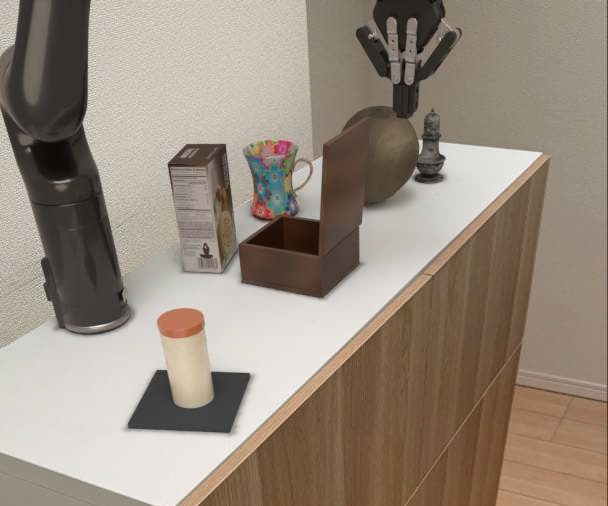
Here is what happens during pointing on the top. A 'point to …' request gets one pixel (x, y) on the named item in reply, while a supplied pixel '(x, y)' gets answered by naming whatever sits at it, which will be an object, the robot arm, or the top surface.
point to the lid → (343, 184)
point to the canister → (186, 357)
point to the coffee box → (203, 206)
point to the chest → (296, 257)
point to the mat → (211, 417)
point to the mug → (273, 177)
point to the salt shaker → (430, 151)
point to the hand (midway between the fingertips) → (404, 116)
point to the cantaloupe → (387, 152)
